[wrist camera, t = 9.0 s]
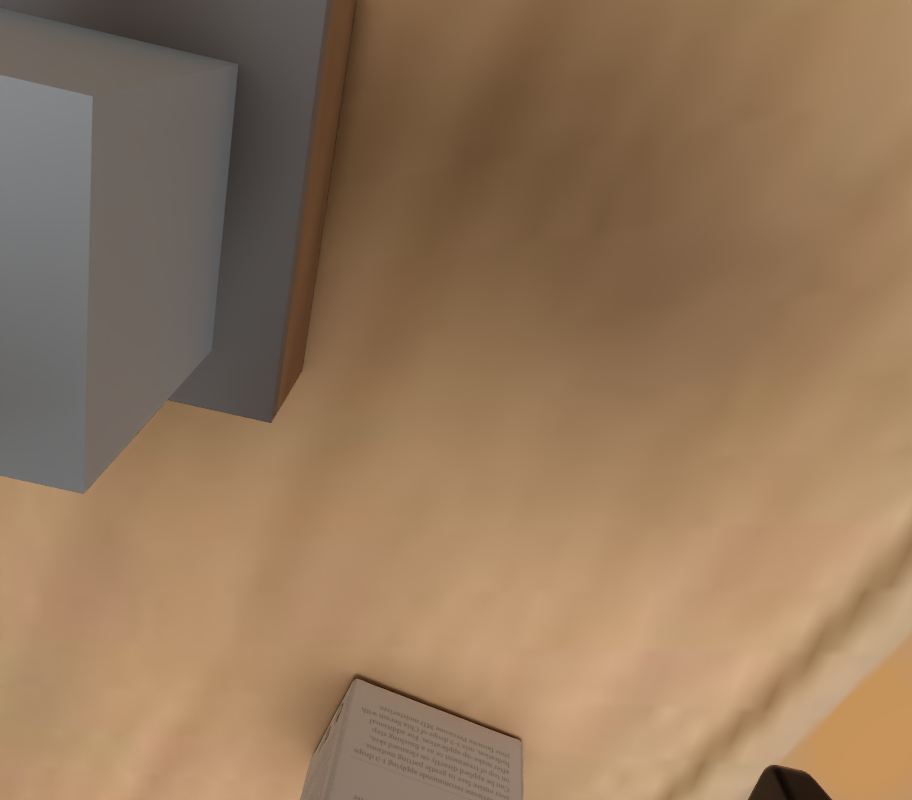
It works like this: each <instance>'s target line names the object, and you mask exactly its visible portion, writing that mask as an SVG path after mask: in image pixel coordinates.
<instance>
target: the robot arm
mask: <svg viewBox="0 0 912 800" xmlns="http://www.w3.org/2000/svg"><path fill="white" fill-rule="evenodd" d="M748 800H832V799H831V798H830V797H829V796H828V795H827V793H826V792H825V791H824V790H823V789H822V788H821V786H820V785H819V784H818V783H817V782H816V781H815V780H814V779H813V778H812V777H811V776H810V775H809V774H807V773H806V772H804V771H801V770H796V769H792V768H788V767H783V766H778V765H770V766H768V767H767V768H766V769H765V770H764V771H763V773H762V774H761V776H760V778H759V780H758V782H757V784H756V786H755V787H754V789H753V791H752V793H751V795H750V797H749V799H748Z"/></svg>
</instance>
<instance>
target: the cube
mask: <svg viewBox="0 0 912 800" xmlns="http://www.w3.org/2000/svg"><path fill="white" fill-rule="evenodd" d="M237 74H238V64H236V63H232V62H228V61H223V60H219V59H215V58H211V57H206V56H202V55H198V54H194V53H189V52H185V51H181V50H177V49H172V48H168V47H164V46H160V45H155V44H151V43H147V42H143V41H138V40H134V39H130V38H126V37H121V36H117V35H113V34H109V33H104V32H100V31H96V30H91V29H87V28H83V27H79V26H74V25H70V24H66V23H62V22H57V21H53V20H49V19H45V18H40V17H36V16H32V15H28V14H23V13H19V12H15V11H11V10H6V9H2V8H0V476H5V477H9V478H14V479H18V480H23V481H28V482H32V483H37V484H41V485H46V486H50V487H55V488H59V489H64V490H68V491H73V492H78V493H82V494H84V493H85V492H86V491H87V490H88V488H89V487H90V486H91V485H92V484H93V483H94V482H95V481H96V479H97V478H98V477H99V476H100V475H101V474H102V473H103V472H104V470H105V469H106V468H107V467H108V466H109V465H110V464H111V463H112V461H113V460H114V459H115V458H116V457H117V456H118V455H119V454H120V453H121V451H122V450H123V449H124V448H125V447H126V446H127V445H128V444H129V442H130V441H131V440H132V439H133V438H134V437H135V436H136V435H137V433H138V432H139V431H140V430H141V429H142V428H143V427H144V426H145V424H146V423H147V422H148V421H149V420H150V419H151V418H152V417H153V415H154V414H155V413H156V412H157V411H158V410H159V409H160V408H161V406H162V405H163V404H164V403H165V402H166V401H167V400H168V399H169V397H170V396H171V395H172V394H173V393H174V392H175V391H176V390H177V388H178V387H179V386H180V385H181V384H182V383H183V382H184V381H185V379H186V378H187V377H188V376H189V375H190V374H191V373H192V372H193V370H194V369H195V368H196V367H197V366H198V365H199V364H200V363H201V361H202V360H203V359H204V358H205V357H206V356H207V355H208V354H209V353H210V351H211V350H212V341H213V331H214V320H215V309H216V299H217V288H218V277H219V267H220V256H221V245H222V235H223V224H224V213H225V203H226V192H227V181H228V171H229V160H230V149H231V139H232V128H233V117H234V106H235V96H236V85H237Z"/></svg>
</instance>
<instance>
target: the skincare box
mask: <svg viewBox="0 0 912 800" xmlns="http://www.w3.org/2000/svg"><path fill="white" fill-rule="evenodd" d="M300 800H523V749H522V743H521V741H520V740H518V739H515V738H512V737H509V736H506V735H504V734H501V733H498V732H496V731H493V730H490V729H488V728H485V727H482V726H480V725H477V724H474V723H472V722H469V721H467V720H464V719H462V718H459V717H456V716H454V715H451V714H448V713H446V712H443V711H441V710H438V709H435V708H433V707H430V706H427V705H425V704H422V703H419V702H417V701H414V700H411V699H409V698H406V697H404V696H401V695H398V694H396V693H393V692H390V691H388V690H385V689H383V688H380V687H377V686H375V685H372V684H370V683H367V682H365V681H362V680H360V679H355V680H354V681H353V682H352V684H351V686H350V688H349V689H348V691H347V693H346V695H345V697H344V699H343V701H342V702H341V704H340V706H339V708H338V710H337V711H336V713H335V715H334V717H333V719H332V721H331V723H330V725H329V727H328V729H327V731H326V733H325V735H324V736H323V738H322V740H321V742H320V744H319V746H318V748H317V749H316V751H315V753H314V755H313V756H312V758H311V761H310V765H309V768H308V772H307V775H306V779H305V783H304V787H303V791H302V795H301V798H300Z"/></svg>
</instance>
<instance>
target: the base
mask: <svg viewBox="0 0 912 800" xmlns="http://www.w3.org/2000/svg"><path fill="white" fill-rule="evenodd" d="M355 6H356V0H0V8H2V9H6V10H11V11H15V12H19V13H23V14H28V15H32V16H36V17H40V18H45V19H49V20H53V21H57V22H62V23H66V24H70V25H74V26H79V27H83V28H87V29H91V30H96V31H100V32H104V33H109V34H113V35H117V36H121V37H126V38H130V39H134V40H138V41H143V42H147V43H151V44H155V45H160V46H164V47H168V48H172V49H177V50H181V51H185V52H189V53H194V54H198V55H202V56H206V57H211V58H215V59H219V60H223V61H228V62H232V63H236V64H238V74H237V85H236V96H235V106H234V117H233V128H232V139H231V149H230V160H229V171H228V181H227V192H226V203H225V213H224V224H223V235H222V245H221V256H220V267H219V277H218V288H217V299H216V309H215V320H214V331H213V341H212V350H211V351H210V353H209V354H208V355H207V356H206V357H205V358H204V359H203V360H202V361H201V363H200V364H199V365H198V366H197V367H196V368H195V369H194V370H193V372H192V373H191V374H190V375H189V376H188V377H187V378H186V379H185V381H184V382H183V383H182V384H181V385H180V386H179V387H178V388H177V390H176V391H175V392H174V393H173V394H172V395H171V396H170V397H169V399H168V400H170V401H175V402H179V403H184V404H188V405H193V406H197V407H202V408H206V409H211V410H215V411H220V412H224V413H229V414H233V415H238V416H242V417H247V418H251V419H255V420H260V421H264V422H269V423H271V422H272V421H273V419H274V417H275V415H276V414H277V412H278V410H279V409H280V407H281V405H282V404H283V402H284V400H285V399H286V397H287V395H288V394H289V392H290V390H291V389H292V387H293V385H294V384H295V382H296V380H297V379H298V377H299V375H300V373H301V372H302V368H303V361H304V354H305V347H306V340H307V334H308V327H309V320H310V313H311V306H312V299H313V293H314V286H315V279H316V272H317V265H318V258H319V252H320V245H321V238H322V231H323V224H324V217H325V211H326V204H327V197H328V190H329V183H330V177H331V170H332V163H333V156H334V149H335V142H336V136H337V129H338V122H339V115H340V108H341V101H342V95H343V88H344V81H345V74H346V67H347V60H348V54H349V47H350V40H351V33H352V26H353V19H354V13H355Z"/></svg>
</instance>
